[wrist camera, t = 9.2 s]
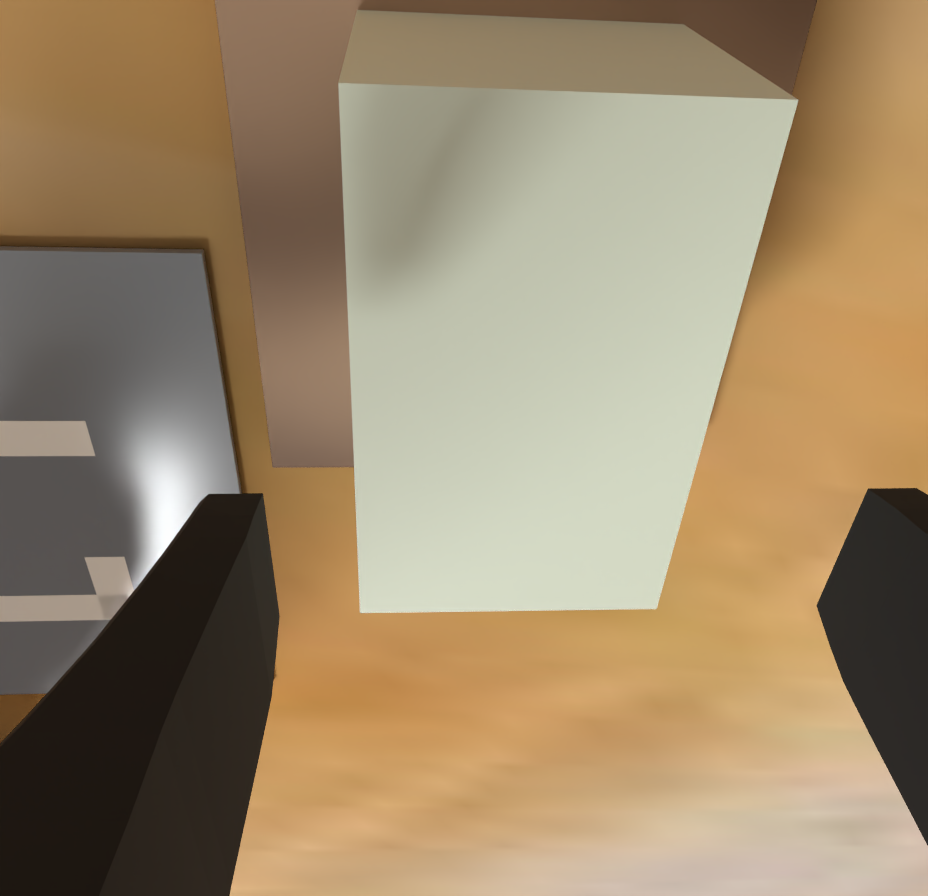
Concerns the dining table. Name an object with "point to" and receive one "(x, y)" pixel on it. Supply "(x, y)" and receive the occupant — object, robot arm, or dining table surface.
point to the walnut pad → (320, 173)
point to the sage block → (540, 297)
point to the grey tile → (99, 438)
